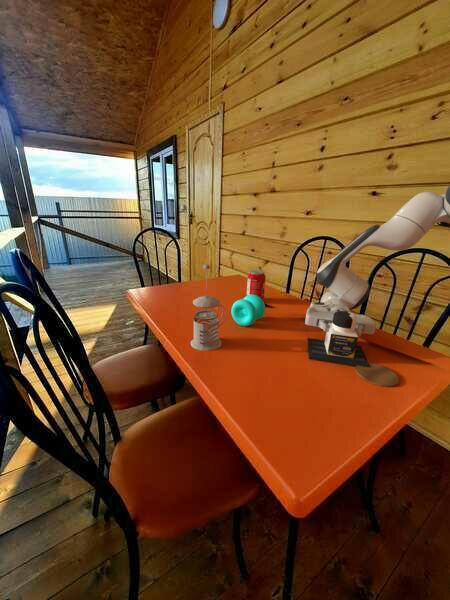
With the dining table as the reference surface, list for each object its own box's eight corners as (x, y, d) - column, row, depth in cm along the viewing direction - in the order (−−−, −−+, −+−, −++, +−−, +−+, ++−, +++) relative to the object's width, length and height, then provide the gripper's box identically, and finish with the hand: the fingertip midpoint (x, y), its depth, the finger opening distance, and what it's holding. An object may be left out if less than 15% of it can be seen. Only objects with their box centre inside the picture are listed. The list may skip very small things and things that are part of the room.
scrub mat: (360, 348, 80) (361, 344, 80) (370, 369, 69) (370, 365, 69) (307, 340, 84) (308, 337, 84) (308, 359, 73) (309, 355, 73)
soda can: (242, 304, 115) (244, 271, 110) (252, 300, 120) (255, 268, 115) (256, 308, 110) (259, 274, 105) (266, 304, 115) (269, 272, 110)
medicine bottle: (327, 354, 73) (334, 316, 69) (324, 343, 80) (330, 307, 76) (353, 358, 72) (362, 319, 68) (348, 346, 78) (356, 310, 74)
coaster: (404, 376, 66) (404, 374, 66) (391, 392, 60) (391, 391, 60) (364, 359, 73) (364, 358, 73) (348, 372, 67) (349, 371, 67)
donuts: (265, 321, 97) (267, 296, 94) (253, 330, 89) (255, 304, 86) (242, 315, 102) (244, 291, 99) (229, 323, 94) (230, 298, 91)
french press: (184, 340, 81) (183, 262, 73) (215, 331, 87) (216, 259, 79) (200, 354, 73) (200, 269, 65) (232, 343, 80) (236, 265, 72)
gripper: (367, 327, 84) (379, 347, 72) (303, 318, 89) (304, 336, 77) (372, 309, 82) (385, 327, 70) (306, 301, 87) (307, 316, 75)
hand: (342, 331), depth 73 cm, fingers closed on medicine bottle, 7 cm apart
